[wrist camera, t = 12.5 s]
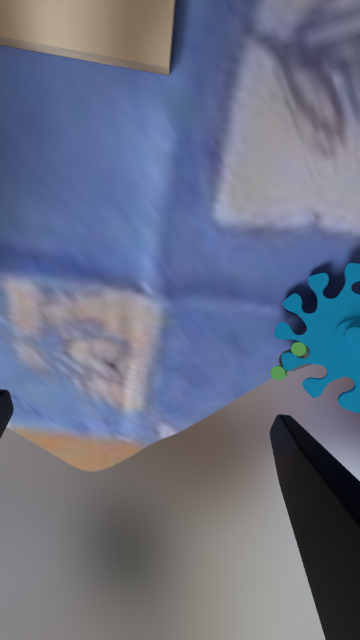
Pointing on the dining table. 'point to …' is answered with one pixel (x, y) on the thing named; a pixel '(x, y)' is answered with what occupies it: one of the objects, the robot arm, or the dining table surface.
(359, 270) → the gear
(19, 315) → the dining table surface
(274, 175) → the dining table surface
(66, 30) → the dock
